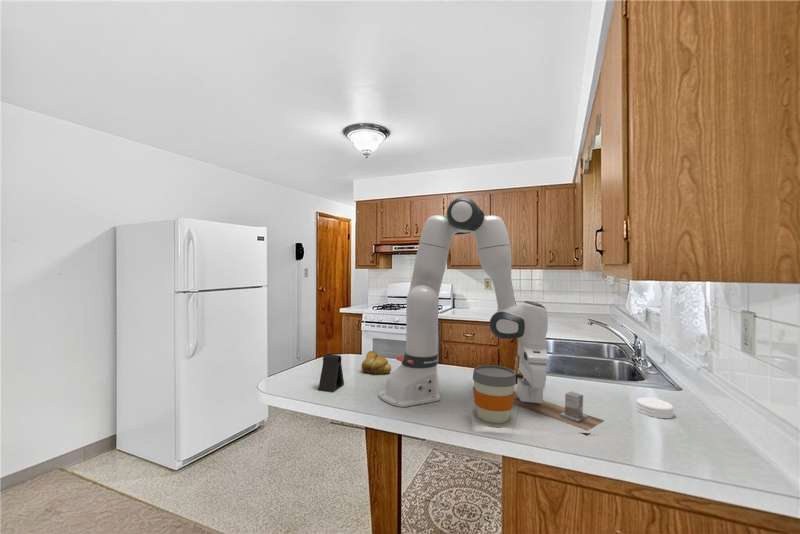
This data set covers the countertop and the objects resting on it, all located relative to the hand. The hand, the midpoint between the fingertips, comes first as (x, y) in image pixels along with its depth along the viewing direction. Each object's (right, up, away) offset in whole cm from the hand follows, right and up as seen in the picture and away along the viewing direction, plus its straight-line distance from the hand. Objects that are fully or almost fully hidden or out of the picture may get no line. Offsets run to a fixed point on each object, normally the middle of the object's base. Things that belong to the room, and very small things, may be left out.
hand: (529, 393), depth 121 cm
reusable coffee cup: (-15, -5, -11) cm, 19 cm away
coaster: (+40, -6, -1) cm, 41 cm away
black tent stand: (-68, -3, +14) cm, 69 cm away
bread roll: (-53, -3, +35) cm, 63 cm away
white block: (0, -2, 0) cm, 2 cm away
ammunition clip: (+6, -5, +19) cm, 20 cm away
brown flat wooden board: (+5, -5, -6) cm, 9 cm away
